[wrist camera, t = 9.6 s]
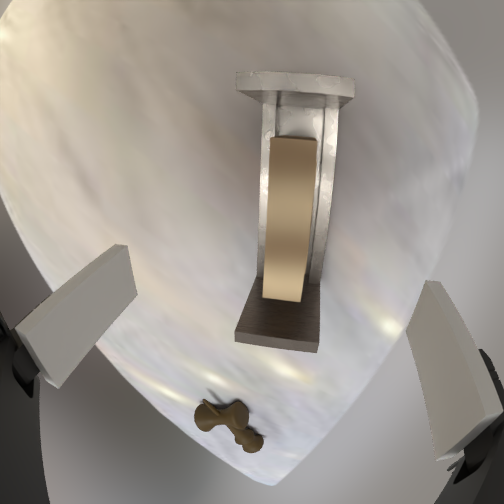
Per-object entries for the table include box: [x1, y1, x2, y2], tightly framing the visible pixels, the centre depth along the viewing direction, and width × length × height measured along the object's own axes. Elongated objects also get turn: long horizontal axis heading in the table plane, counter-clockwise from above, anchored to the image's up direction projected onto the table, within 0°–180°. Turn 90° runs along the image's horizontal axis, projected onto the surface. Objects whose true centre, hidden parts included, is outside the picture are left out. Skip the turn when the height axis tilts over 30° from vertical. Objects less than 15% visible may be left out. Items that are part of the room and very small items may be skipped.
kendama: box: [194, 399, 264, 453], centre depth 47 cm, size 6×10×20 cm
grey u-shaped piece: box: [235, 72, 355, 353], centre depth 23 cm, size 20×7×12 cm, turn 179°
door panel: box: [263, 135, 317, 302], centre depth 23 cm, size 12×3×10 cm, turn 179°
